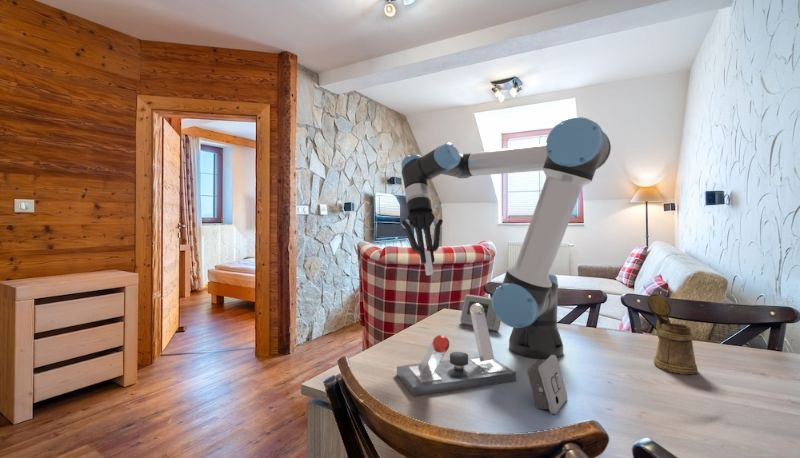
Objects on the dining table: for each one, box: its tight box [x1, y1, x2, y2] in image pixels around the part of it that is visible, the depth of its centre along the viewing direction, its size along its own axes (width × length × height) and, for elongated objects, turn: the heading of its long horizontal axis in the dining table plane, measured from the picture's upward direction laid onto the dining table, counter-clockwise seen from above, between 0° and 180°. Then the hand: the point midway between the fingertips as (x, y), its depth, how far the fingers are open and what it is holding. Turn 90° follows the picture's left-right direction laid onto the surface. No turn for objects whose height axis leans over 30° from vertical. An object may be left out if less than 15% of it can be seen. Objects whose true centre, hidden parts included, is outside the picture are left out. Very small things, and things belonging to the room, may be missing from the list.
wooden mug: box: [646, 292, 699, 375], centre depth 99 cm, size 9×14×18 cm, turn 0°
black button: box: [449, 351, 469, 366], centre depth 91 cm, size 4×4×2 cm
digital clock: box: [459, 294, 502, 332], centre depth 135 cm, size 16×9×11 cm, turn 34°
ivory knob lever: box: [470, 303, 495, 362], centre depth 96 cm, size 4×4×14 cm
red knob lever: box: [418, 334, 450, 375], centre depth 83 cm, size 4×4×14 cm
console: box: [396, 356, 517, 397], centre depth 90 cm, size 26×12×4 cm, turn 108°
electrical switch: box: [526, 355, 568, 415], centre depth 78 cm, size 9×5×9 cm, turn 141°
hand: (429, 273), depth 107 cm, fingers closed
